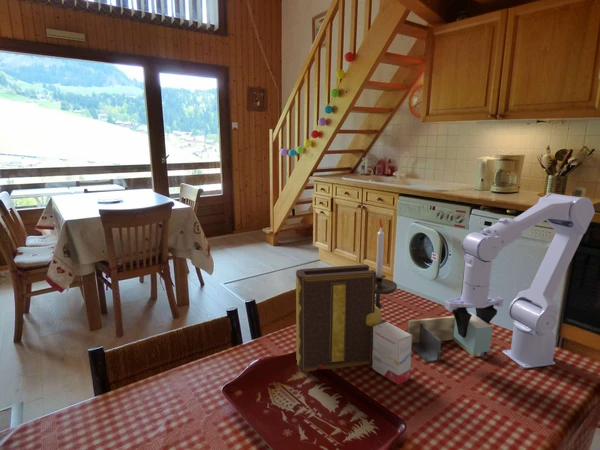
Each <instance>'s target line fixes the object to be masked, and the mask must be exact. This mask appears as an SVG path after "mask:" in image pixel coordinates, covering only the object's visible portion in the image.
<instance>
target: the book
mask: <svg viewBox="0 0 600 450" xmlns="http://www.w3.org/2000/svg"><path fill="white" fill-rule="evenodd" d="M375 286H376V270H375V269H371V270H370V265H368V264H356V265H354V264H353V265H341V266H328V267H327V266H325V267H313V268H311V267H310V268H302V269H301V268H299V269H297V270H296V271H295V292H296V293H295V295H296V297H295V301H296V303H295V305H296V306H295V310H296V311H295V312H296V313H295V318H296V319H295V321H296V323H295V324H296V325H295V331H296V333H295V334H296V335H295V337H296V339H295V343H296V345H295V346H296V347H295V348H296V349H295V350H296V359H295V360H297V363H296V366H297V365H298V366H297V369H298V368H299V369H300V370H301V371H300V370H299V369H298V370H299V371H300V372H302V373H311V372H310V371H312V372H314V371H313V370H317V368H318V365H319V364H321V365H323V366H325V367H327V368H329V369H328V370H333V369H335V370H336V369H340V368H341V369H343V368H349V367H350V368H351V367H358V366H366V365H367V366H368V365H373V326H376V325H378V324H380V322H381V320H382V317H383V316H382V311H381V309H379V308H378V307H376V306H375V303H376V294H375Z"/></svg>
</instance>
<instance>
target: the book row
mask: <svg viewBox="0 0 600 450" xmlns="http://www.w3.org/2000/svg"><path fill="white" fill-rule="evenodd" d="M454 326H455V321H454ZM453 335H454V331H453ZM452 341H454V342H455V343H456V344H457V345H459V346H460V347H461V348H462V349H463V350H464V351H466V352H467V353H468V354H469V355H471V357H484V355H485V352H480V353H472V352H471V351H470V350H469V349H468V348H467V347H465V346H464V345H463V344H462V343H461V342H460V341H458V340H457V339H456V338H455V337H454V336H453V339H452Z"/></svg>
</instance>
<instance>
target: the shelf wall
mask: <svg viewBox="0 0 600 450" xmlns="http://www.w3.org/2000/svg"><path fill="white" fill-rule="evenodd" d="M454 321H455V317H454V315H449V316H440V317H430V318H420V319H409V320H408V322H407V333H409V334H411V335H412V343H414V342H419V336H420V324H424V325H425V326H426V327H427V328H428V329H429V330H430V331H431V332H432V333H434V334H435V335H436V336H437V337H438V338H439V339H440V340H441V342H443V341H450V340H452V341H453V331H454Z"/></svg>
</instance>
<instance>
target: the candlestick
mask: <svg viewBox="0 0 600 450" xmlns="http://www.w3.org/2000/svg"><path fill="white" fill-rule="evenodd" d="M378 222H379V231H378V232H377V244H376V265H375V271H376V286H375V306H376V307H378V308H379V309H380V310H381V309H382V308H383V304H382V303H381V295H390V294H393V293H395V292H396V291H398V285H397V282H395V281H393V280H391V279H387V276H386V275H385V274H383V268H384V267H383V265H384V263H383V262H384V246H385V245H384V243H385V242H384V240H385V232H384V231H383V223H382V220H381V218H380V217H379V218H378ZM384 322H388V321H387V320H384V319H381V322H380V324H381V323H384ZM388 323H390V322H388ZM378 325H379V324H378Z"/></svg>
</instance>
